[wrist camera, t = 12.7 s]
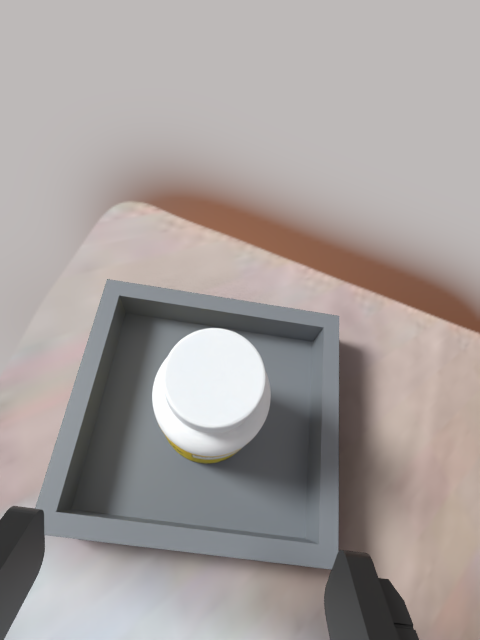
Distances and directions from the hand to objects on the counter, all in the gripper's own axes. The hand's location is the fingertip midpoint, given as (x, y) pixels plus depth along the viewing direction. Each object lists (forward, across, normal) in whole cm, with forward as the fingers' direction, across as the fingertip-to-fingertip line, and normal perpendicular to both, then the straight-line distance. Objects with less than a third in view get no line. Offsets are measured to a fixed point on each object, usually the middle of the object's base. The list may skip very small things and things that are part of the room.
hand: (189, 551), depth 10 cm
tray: (+13, 0, +5) cm, 14 cm away
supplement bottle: (+12, 0, +4) cm, 13 cm away
